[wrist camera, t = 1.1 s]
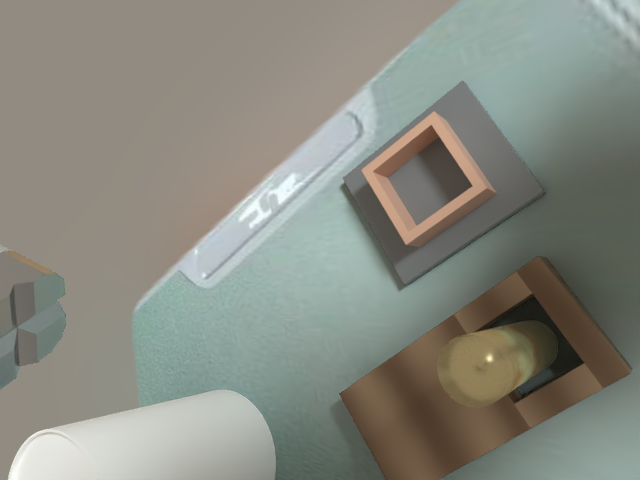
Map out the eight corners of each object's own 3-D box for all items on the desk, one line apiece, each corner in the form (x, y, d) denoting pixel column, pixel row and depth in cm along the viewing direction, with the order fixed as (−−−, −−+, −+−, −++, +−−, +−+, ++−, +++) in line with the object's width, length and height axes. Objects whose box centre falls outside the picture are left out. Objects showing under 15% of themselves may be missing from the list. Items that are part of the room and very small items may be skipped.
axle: (562, 326, 43) (514, 344, 30) (554, 376, 43) (502, 417, 30) (510, 315, 45) (443, 327, 32) (502, 363, 45) (432, 395, 32)
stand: (466, 84, 49) (451, 69, 45) (545, 193, 45) (535, 185, 41) (347, 179, 54) (326, 172, 51) (408, 284, 50) (389, 284, 47)
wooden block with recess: (545, 257, 44) (538, 256, 42) (631, 368, 41) (629, 373, 38) (355, 388, 52) (339, 393, 50) (412, 490, 49) (398, 501, 46)
